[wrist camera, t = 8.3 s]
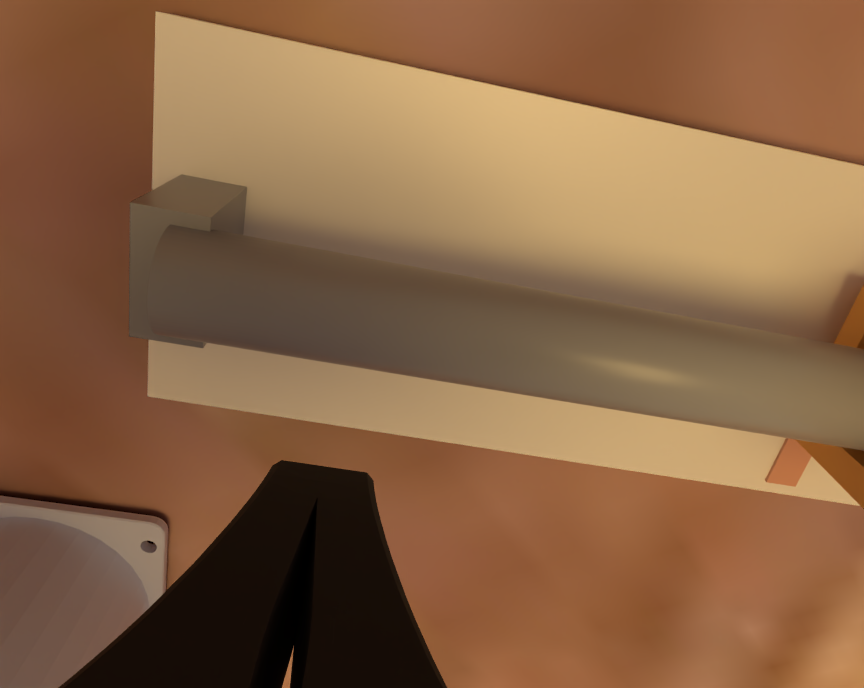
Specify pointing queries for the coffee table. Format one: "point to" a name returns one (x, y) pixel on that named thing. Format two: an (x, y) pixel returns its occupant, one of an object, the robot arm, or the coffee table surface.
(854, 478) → the orange block with hole
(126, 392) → the coffee table surface
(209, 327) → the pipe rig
